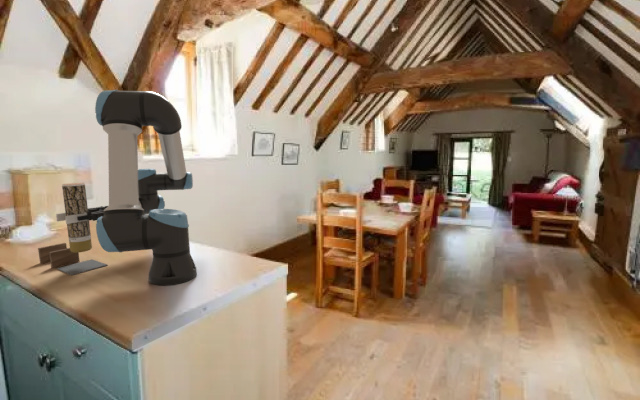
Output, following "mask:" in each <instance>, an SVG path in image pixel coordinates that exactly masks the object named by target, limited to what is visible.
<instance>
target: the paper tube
mask: <svg viewBox="0 0 640 400" xmlns="http://www.w3.org/2000/svg"><path fill="white" fill-rule="evenodd" d="M61 188H62V195H63V205H64V213H66V216H70V215H76V214H83V213H87V212H88V208H89V207H88V199H87V191H86V184H85V182H70V183H69V182H68V183H62V184H61ZM87 215H88V214H87ZM90 227H91V226H90V221H89V220H88V219H87V221H82V222H76V223H70V224H66V229H67V235H68V236H67V237H68V243H69V248H70V251H71V252H74V253H84V252H88V251H90V250H92V248H93V245H92V235H91V228H90Z"/></svg>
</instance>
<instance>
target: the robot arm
mask: <svg viewBox="0 0 640 400" xmlns="http://www.w3.org/2000/svg"><path fill="white" fill-rule="evenodd" d="M94 106H95V107H94V111H95V112H94V113H95V114H96V115H95V119H96V122H97V124H99V125H100V126H102V130H103V131H104V132H105V133H106V134H107V141H108V143H107V145H108V146H107V148H108V149H107V151H108V156H107V157H108V163H107V164H108V205H104V206H102V205H101V206H97V207H88V212H87V213H83V214H76V215H70V216H66V213H65V212H60V213H56V214H55V218H56V222H63V221H65V224H66V225H67V224H70V223H76V222H82V221H87V219H88V220H89V222H90V221H96V223H95V231H96V237H97V241H98V244H99V245H100V247H101V249H103V250H104V251H105V252H107V253H123V252H136V251H138V252H139V251H146V250H148V251H149V250H151V252H152V261H151V264H150V268H149V272H148V282H149V283H151V284H152V285H157V286H171V285H178V284H182V283H185V282H188V281H191V280H192V279H194V278H196V277H197V276H198V274H197V273H198V272H197V271H198V270H197V266H196V264H195V261H194V260H193V257H192V255H191V254H192V253H191V250H190V247H191V246H190V236H189V227H190V224H189V221H188V220H189V218H188V215H187V213H186V212H184V211H182V210H178V209H172V208H165V207H166V204H165V200H164V199H165V198H164V197H163V196H162V195H160V194H159V193H158V191H181V190H182V191H183V190H184V191H185V190H191V189H192V188H193V187H194V185H193V184H194V180H193V173H192V172H190V171H187V167H186V161H185V155H184V151H183V144H182V138H181V133H180V131H181V130H182V121H181V117H180V114H179V113H178V111H177V109H176V108H175V106H174V105H173V104H172V103H171V102H170V101H169V100H168V99H167V98H166V97H164V96H163V95H161V94H159V93H158V92H157V93H156V92H155V91H149V90H146V91H145V90H144V91H143V90H139V91H138V90H118V89H112V90H110V89H109V90H102V91H101V92H99V94H98V95H97V97H96V101H95V105H94ZM143 127H153V131H155V133H157V135H158V139H159V143H160V148H161V152H162V157H163V160H164V164H165V170H166V172H157V170H156V168H139V156H138V153H139V152H138V136H139V135H140V134H141V133H142V132H143ZM87 214H88V215H87Z"/></svg>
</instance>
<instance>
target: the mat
mask: <svg viewBox="0 0 640 400" xmlns="http://www.w3.org/2000/svg"><path fill="white" fill-rule="evenodd" d="M107 266H108V264H107V263H104V262H102V261H98V260H95V259H88V260H83V261H80V262H76V263H72V264H68V265H64V266H60V267H56V270H58V271H60V272H63V273H65V274H67V275H70V276H75V275H78V274H81V273H85V272H89V271H93V270H97V269H100V268H104V267H107Z"/></svg>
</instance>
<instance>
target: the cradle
mask: <svg viewBox="0 0 640 400" xmlns="http://www.w3.org/2000/svg"><path fill="white" fill-rule="evenodd" d="M37 251H38V257H39V264H41V265H42V264H46V263H49V262H50V267H51V269H55V268H56V269H57V268H59V267H63V266H67V265H71V264H75V263H79V262H81V261H80V254H79V253H80V252H79V253H74V252H71V251H70V247H68V246H67V243H66V242H62V243H57V244H52V245H47V246H41V247H38V248H37Z"/></svg>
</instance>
